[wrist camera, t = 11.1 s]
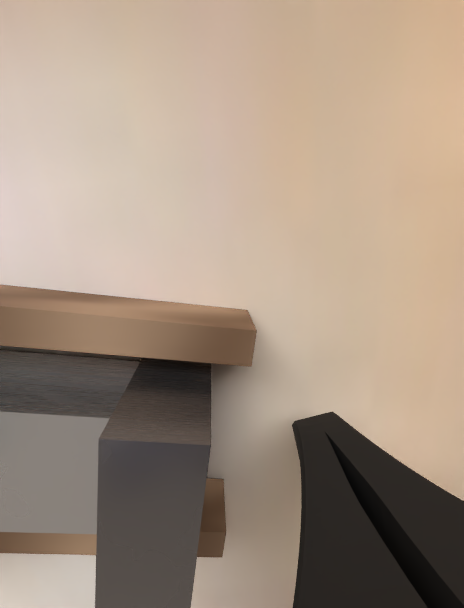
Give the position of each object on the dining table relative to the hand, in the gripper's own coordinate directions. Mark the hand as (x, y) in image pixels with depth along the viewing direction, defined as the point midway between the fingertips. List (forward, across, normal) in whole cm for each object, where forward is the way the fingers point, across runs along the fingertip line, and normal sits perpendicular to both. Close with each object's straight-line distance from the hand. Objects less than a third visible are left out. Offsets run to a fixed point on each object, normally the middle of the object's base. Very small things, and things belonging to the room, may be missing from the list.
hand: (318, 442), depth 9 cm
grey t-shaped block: (+1, +7, -2) cm, 7 cm away
